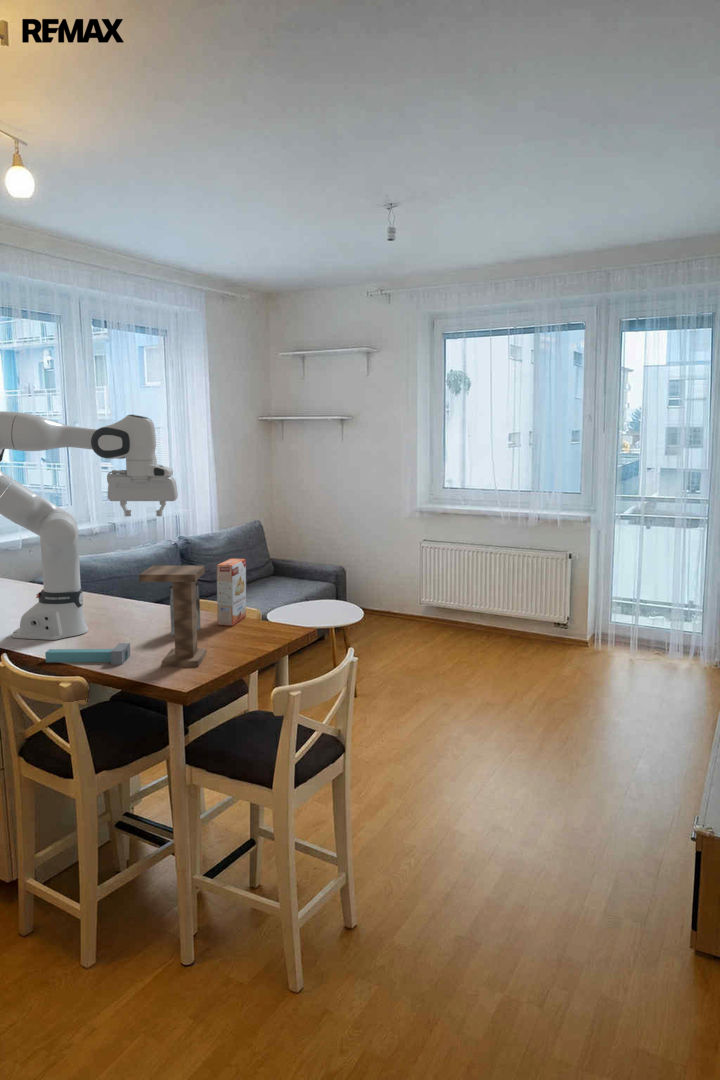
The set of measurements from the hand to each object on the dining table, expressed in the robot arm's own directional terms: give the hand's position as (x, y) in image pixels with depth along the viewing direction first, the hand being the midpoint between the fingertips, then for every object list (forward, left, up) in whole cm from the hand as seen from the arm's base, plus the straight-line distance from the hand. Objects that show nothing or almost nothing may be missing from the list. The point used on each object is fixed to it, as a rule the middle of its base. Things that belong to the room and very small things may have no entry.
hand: (143, 516), depth 219 cm
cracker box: (+22, +26, -39) cm, 52 cm away
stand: (+12, -18, -39) cm, 45 cm away
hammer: (-13, -18, -39) cm, 45 cm away
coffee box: (+9, +12, -39) cm, 42 cm away
